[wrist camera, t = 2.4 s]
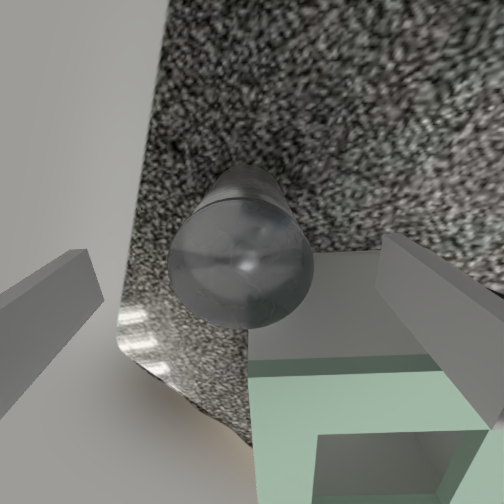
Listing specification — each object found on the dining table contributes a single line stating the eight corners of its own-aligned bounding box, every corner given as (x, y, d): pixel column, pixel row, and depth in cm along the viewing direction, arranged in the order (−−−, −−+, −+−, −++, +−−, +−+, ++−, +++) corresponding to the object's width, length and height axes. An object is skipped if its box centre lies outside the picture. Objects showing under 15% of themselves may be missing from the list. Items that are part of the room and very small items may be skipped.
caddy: (249, 255, 24) (247, 377, 12) (426, 247, 23) (602, 365, 12) (257, 389, 31) (261, 545, 20) (391, 385, 31) (476, 540, 19)
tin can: (205, 165, 21) (153, 204, 10) (283, 161, 20) (318, 196, 10) (214, 237, 23) (180, 332, 12) (283, 234, 23) (310, 327, 12)
